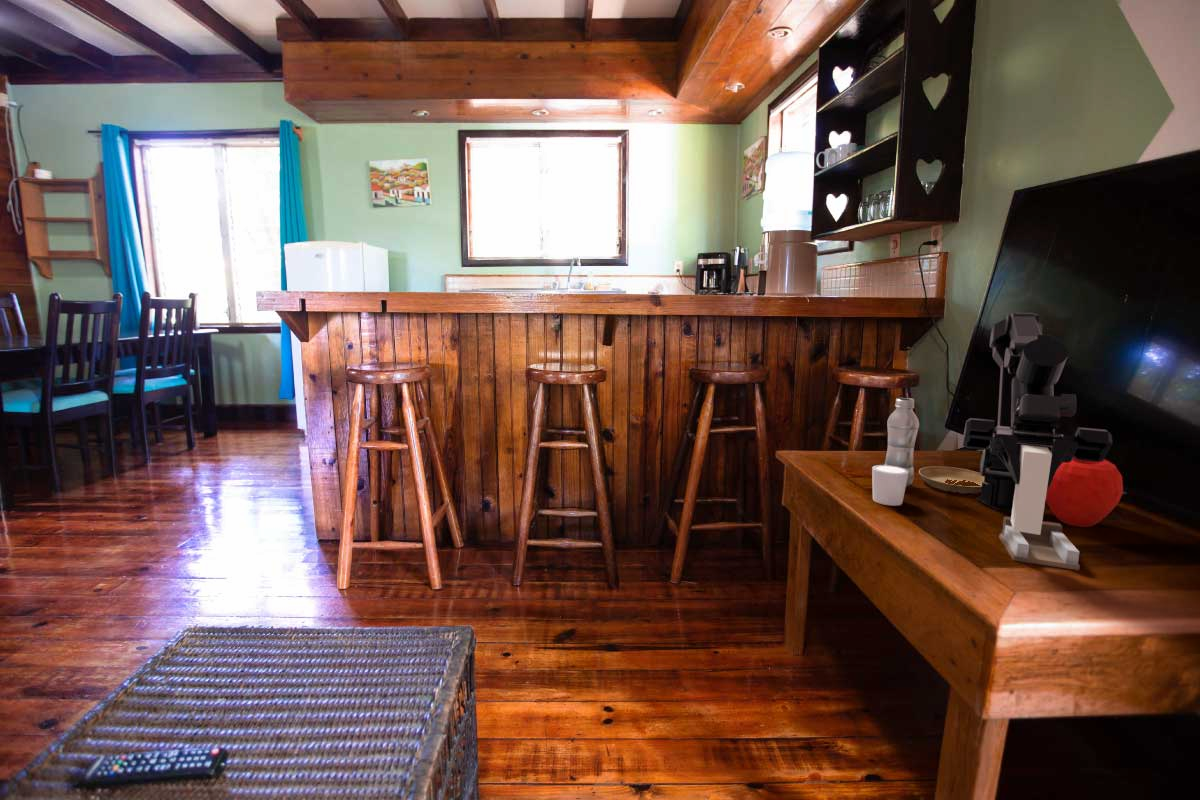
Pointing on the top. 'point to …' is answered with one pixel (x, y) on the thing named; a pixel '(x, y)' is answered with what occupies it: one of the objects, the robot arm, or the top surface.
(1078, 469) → the apple
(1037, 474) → the white rectangular block
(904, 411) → the plastic bottle
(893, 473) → the white cup
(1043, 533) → the sill track
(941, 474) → the plant saucer
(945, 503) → the top surface
